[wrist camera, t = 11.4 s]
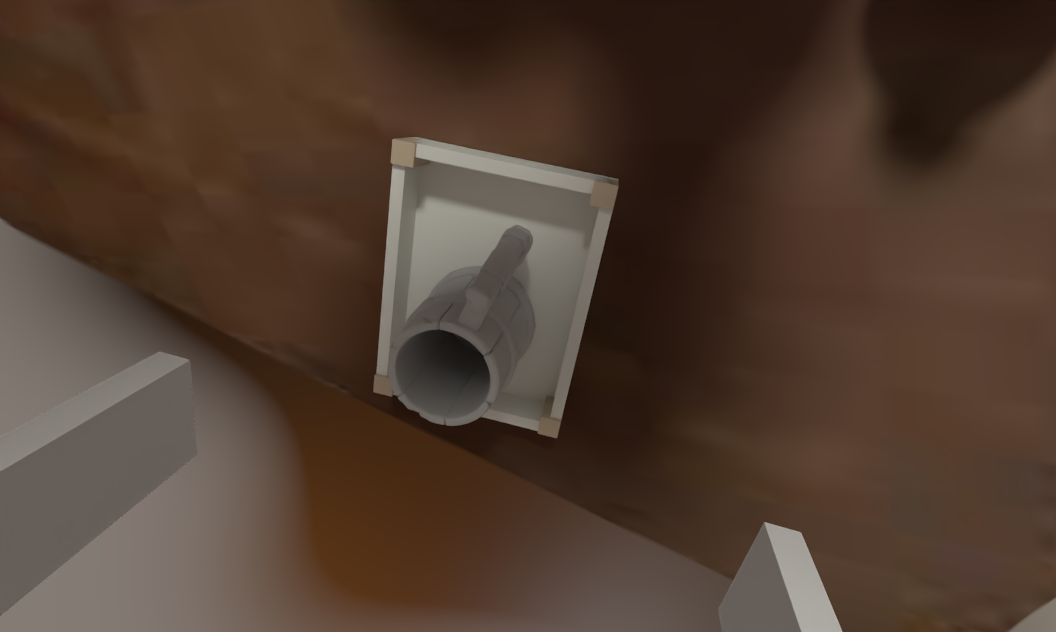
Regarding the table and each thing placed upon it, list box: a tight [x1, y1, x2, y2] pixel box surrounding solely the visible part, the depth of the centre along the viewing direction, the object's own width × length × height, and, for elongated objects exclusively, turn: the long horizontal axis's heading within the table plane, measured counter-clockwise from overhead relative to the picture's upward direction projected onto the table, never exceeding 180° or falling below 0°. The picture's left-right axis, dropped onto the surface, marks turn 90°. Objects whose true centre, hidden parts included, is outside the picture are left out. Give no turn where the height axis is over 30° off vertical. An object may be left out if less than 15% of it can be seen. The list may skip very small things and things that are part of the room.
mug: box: [388, 225, 536, 426], centre depth 30 cm, size 8×12×12 cm, turn 153°
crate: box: [373, 137, 619, 438], centre depth 35 cm, size 18×14×4 cm
